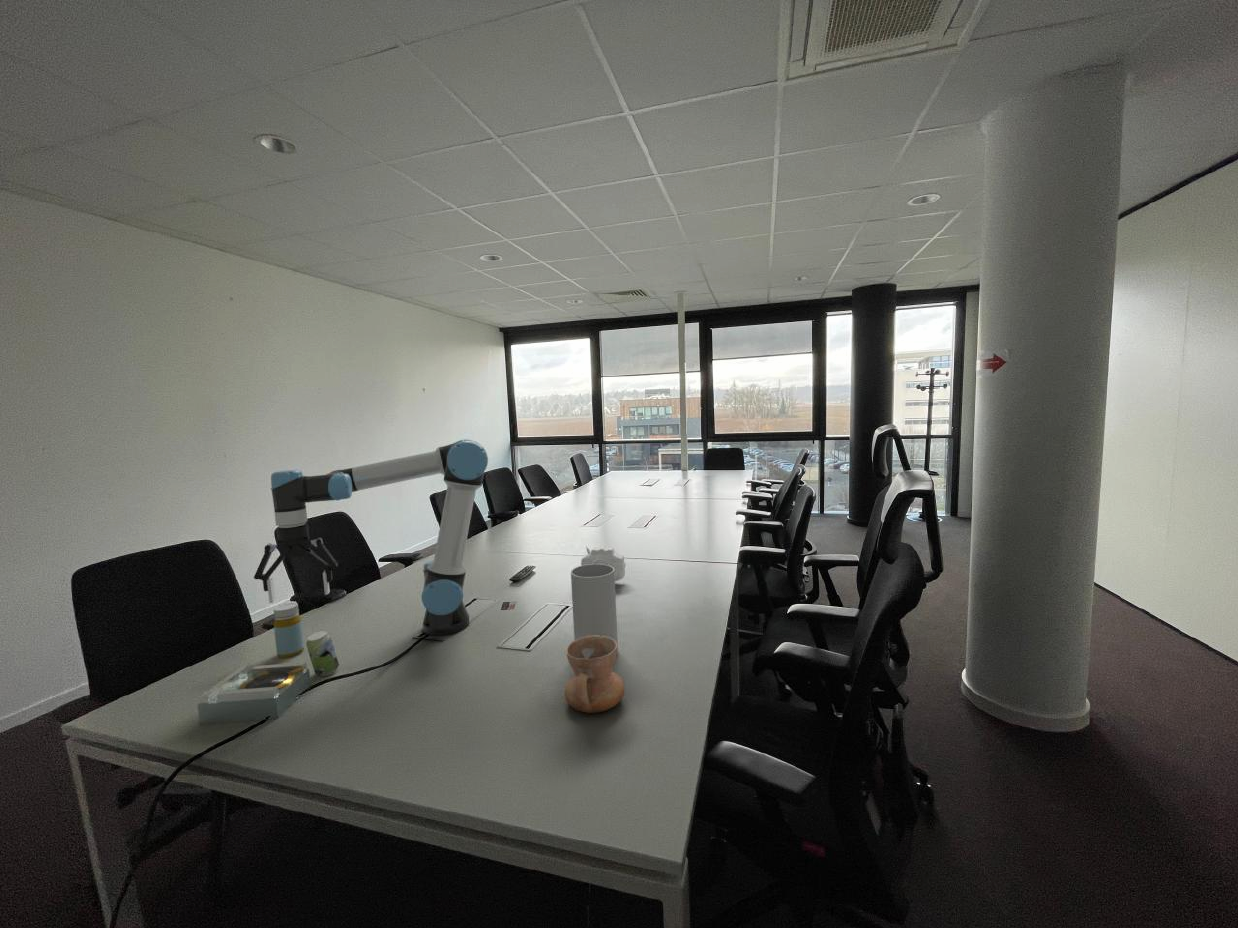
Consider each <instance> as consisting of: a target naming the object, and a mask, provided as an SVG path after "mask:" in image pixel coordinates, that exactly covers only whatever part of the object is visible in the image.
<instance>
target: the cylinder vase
mask: <svg viewBox="0 0 1238 928" xmlns="http://www.w3.org/2000/svg"><path fill="white" fill-rule="evenodd" d="M570 582H571V584H570V585H571V600H572V619H573V637H574V640H573V641H575V640H577V639H579V638H582V637H585V636H592V635H599V636H600V637H603V636H606V637H610V638H612V639H613V640H615V641H616V643H617V654H618V653H619V641H618V639H619V638H618V621H617V620H618V619H617V597H616V581H615V574H614V568H613V567H612V566H609V565H604V564H589V565H583V566H581V565H579V566H576V567H574V568H572V569H571V570H570ZM594 650H595V649H589V648H587V649H583V650H582V653H583V655H584V657H585V659H588V658H589V657H590V655H591V653H592V652H593V651H594Z"/></svg>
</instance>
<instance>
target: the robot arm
mask: <svg viewBox="0 0 1238 928" xmlns="http://www.w3.org/2000/svg"><path fill="white" fill-rule="evenodd" d="M488 457H489V456H488V453H487V451H486V449H485V447H483V445H481V444H480V443H479V442H477V441H474V440H471V439H460V440H457V441H456V442H453V443H450V444H446V445H443V446H438V447H437V448H436V449H435V450H433V451H429V452H425V453H419V454H415V455H409V456H405V457H399V458H393V459H389V460H384V461H378V462H374V463H369V464H364V465H359V466H354V467H349V468H344V469H335V470H333V471H330V472H329V473H326V474H321V475H307V476H306V475H304V474H303V472H302V470H300V469H291V470H290V469H289V470H279V471H274V472H273V473H271V476H270V483H271V484H270V485H271V488H270V490H271V495H272V501H273V503H272V504H273V509H274V512H273V513H274V519H275V520H274V521H275V526H277V528H276V537H277V538H276V539H277V543H276V544H275V543H274V544H273V543H267V544H266V545H264V554H263V556H262V558H261V560H260V562H259V565H258V567H257V569H256V571H255V574H254V576H253V579H254V580H261V581H262V586H263V591H264V592H267V593H268V594H267V595H268V601H269V604H273V603H274V602H275V601H276V589H275V581H274V577H271V576H272V574H273V573H274V572H275V571H276V570H277V568H278V567H279V565H280V564H281V563H282V562H283V560H284V559H285V558H288V559H293V558H301V557H303V556H305V557H306V558H308V559H310V561H312V562H313V563H315V565H317V566H318V567H320V568H321V569H322V570H323V572H322V580H323V587H324V595H325V596H327V595H329V593H330V592H331V590H330V583H331V582H332V581H333V571H332V570H334V569H335V570H336V568H337V567H339V562H338V561H337V560H336V558H334V556H333V555H332V553H331V552H330V551H329V549H327V546H326V545H325V544H324V543H325V542H324V540H323V538H322V537H318V538H317V539H311V538H310V531H309V524H308V523H307V522H308V513H307V506H306V503H314V502H328V501H329V502H331V501H340V500H347V499H350V498H351V497H352V495H353V493H354V492H358V491H362V490H363V491H364V490H367V489H368V490H369V489H372V488H377V487H382V486H387V485H391V484H397V483H401V482H406V481H411V480H415V479H421V478H425V477H431V476H434V475H440V474H441V475H443V482H444V483H445V485H446V492H445V493H446V494H445V498H444V503H443V507H442V508H443V509H442V512H441V513H442V515H441V520H440V526H439V531H438V536H437V541H436V547H435V552H434V559H433V560H431V561H428V562H425V563H424V564H423V569H422V571H423V576H424V579H423V582H424V583H423V587H422V592H421V601H422V604H423V606H424V608H425V613H424V615H423V621H422V631H423V633H424V634H426V635H429V636H444V635H451V634H454V633H457V632H460V631H463V629H466V628H467V627H468V626H469V624H470V614H469V612H468V610H467V608H466V606H465V603H464V600H463V598H464V591H463V590H464V583H465V579H466V572H467V569H466V567H464V565H463V564H464V563H463V561H464V556H465V551H466V547H467V542H468V541H467V539H468V534H469V529H470V524H471V519H472V512H473V508H474V503H475V497H476V492H477V490H478V489H480V488H481V487H482V485H483V481H484V476H485V471H486V469H487V467H488V463H489V458H488ZM312 545H313V546H314V547H316V548H317V549H318V552H320V553H321V555H322V556H323V557H324V559H325V560H326V561H327V562H326V561H325V560H324V559H323V558H321V557H320V556H319V555H317V554H316V553H315V552H314V551H313V550H312V549H311V546H312ZM276 550H278V551H279V552H280V554H279V556H278V557H277V558H276V559H275V561H274V562H273V563H272V565H271V566H270V567H269V568H268V570H267V571H266V572H265V573H264V571H265V569H266V566H267V564H268V563H269V560H270V558H271V556H272V553H274V552H275V551H276Z"/></svg>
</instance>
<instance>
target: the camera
mask: <svg viewBox="0 0 1238 928" xmlns="http://www.w3.org/2000/svg"><path fill="white" fill-rule="evenodd" d="M585 547H586V554H584V555H583V556H582V557H581V559H580V560H581V561H580V566H583V565H589V564H604V565H609V566H612V567H613V568H614V574H615V582H618V581H620V580H622V579H624V577H625V574H626V571H625V569H626V562H625V556H624V554H622V553H619V552H617V551H615V549H614V547H606V546H603V545H602V546H600V547H593V548H592V549H591V550H590V549H589V547H587V546H585Z"/></svg>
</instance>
